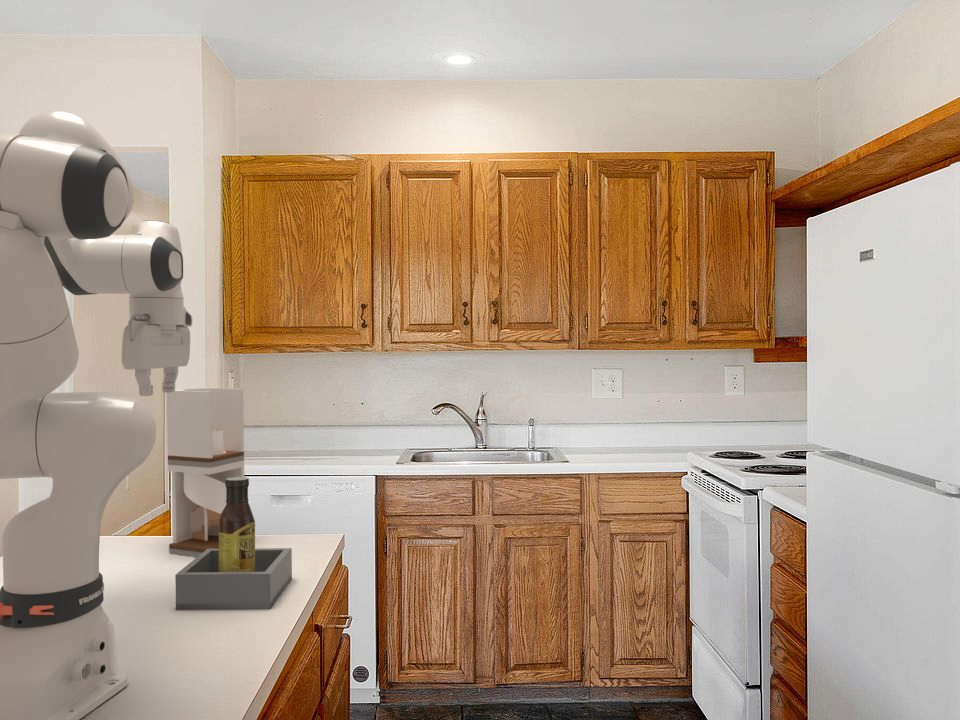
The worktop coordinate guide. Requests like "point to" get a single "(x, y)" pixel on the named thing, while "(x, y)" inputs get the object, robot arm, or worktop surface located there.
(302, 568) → the worktop surface
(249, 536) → the sauce bottle
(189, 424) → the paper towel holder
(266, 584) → the box
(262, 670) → the worktop surface
